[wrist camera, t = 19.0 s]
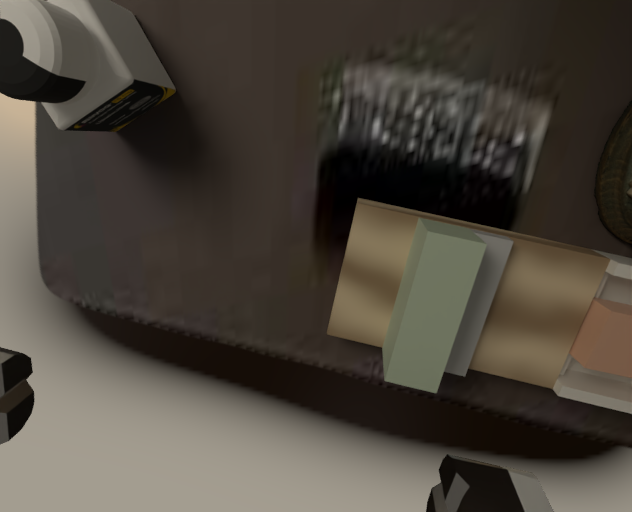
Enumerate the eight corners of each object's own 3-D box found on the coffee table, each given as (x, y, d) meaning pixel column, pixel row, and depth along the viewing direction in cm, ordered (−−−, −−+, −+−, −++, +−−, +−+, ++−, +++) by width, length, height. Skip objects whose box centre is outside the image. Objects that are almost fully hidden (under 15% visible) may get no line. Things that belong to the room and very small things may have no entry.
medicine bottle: (116, 133, 36) (-1, 130, 25) (69, 57, 35) (-77, 17, 23) (179, 92, 34) (85, 68, 23) (132, 10, 33) (8, -58, 22)
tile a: (587, 295, 33) (611, 311, 30) (646, 308, 33) (675, 325, 30) (563, 348, 34) (584, 367, 31) (620, 360, 34) (645, 381, 32)
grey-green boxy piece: (418, 217, 32) (428, 231, 27) (506, 236, 31) (532, 254, 27) (382, 348, 35) (384, 380, 31) (461, 367, 35) (475, 402, 30)
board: (358, 197, 35) (357, 202, 32) (590, 249, 34) (610, 259, 31) (329, 319, 39) (326, 334, 36) (538, 369, 37) (552, 388, 35)
